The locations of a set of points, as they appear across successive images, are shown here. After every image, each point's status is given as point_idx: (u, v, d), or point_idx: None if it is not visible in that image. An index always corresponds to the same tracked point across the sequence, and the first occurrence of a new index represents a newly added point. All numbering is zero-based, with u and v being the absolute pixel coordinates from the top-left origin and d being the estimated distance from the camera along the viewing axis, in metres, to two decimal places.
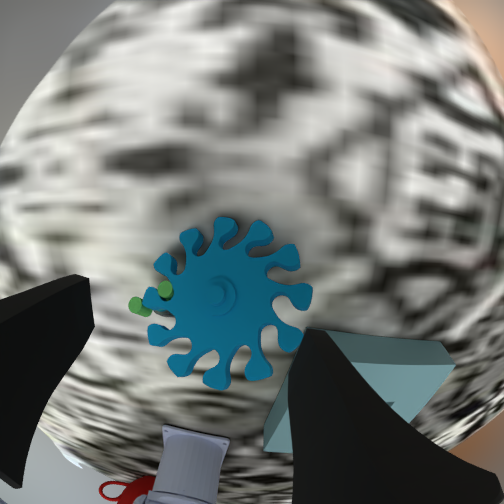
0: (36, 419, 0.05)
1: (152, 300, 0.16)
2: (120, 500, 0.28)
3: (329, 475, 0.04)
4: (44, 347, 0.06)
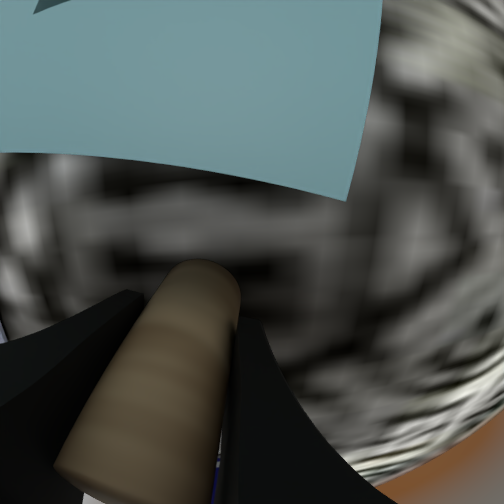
0: None
1: None
2: None
3: (225, 470, 0.04)
4: None
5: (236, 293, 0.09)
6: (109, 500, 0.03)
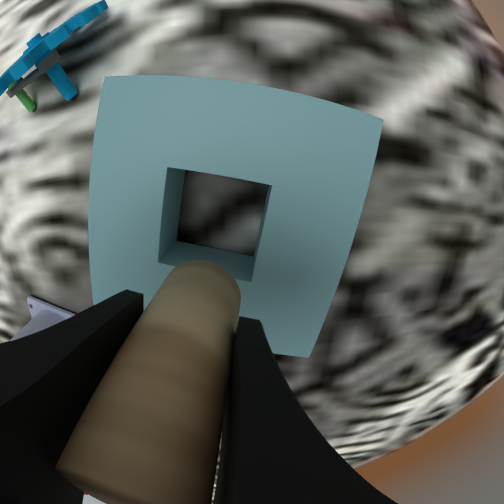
0: None
1: (4, 72, 0.09)
2: None
3: (225, 470, 0.04)
4: (103, 373, 0.06)
5: (236, 293, 0.09)
6: (111, 501, 0.03)
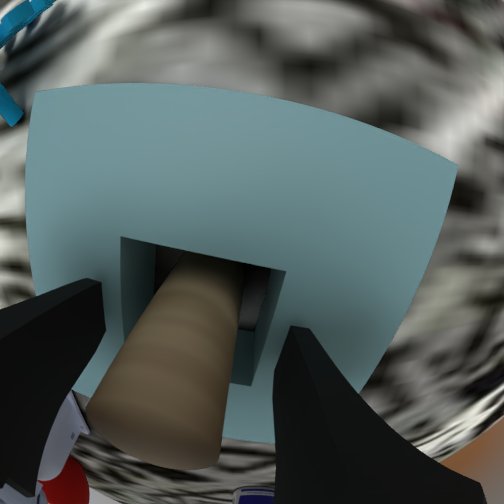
0: (49, 427, 0.05)
1: None
2: None
3: (305, 476, 0.04)
4: (57, 353, 0.06)
5: (240, 272, 0.11)
6: (132, 443, 0.05)
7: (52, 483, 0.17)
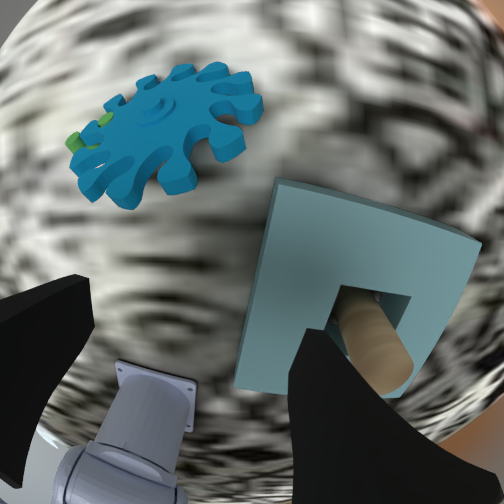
0: (36, 419, 0.05)
1: (89, 129, 0.12)
2: None
3: (329, 475, 0.04)
4: (44, 347, 0.06)
5: None
6: (375, 383, 0.12)
7: None
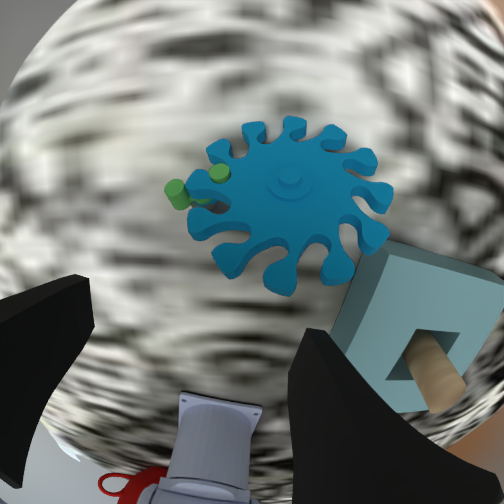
0: (36, 419, 0.05)
1: (200, 182, 0.13)
2: (122, 495, 0.24)
3: (329, 475, 0.04)
4: (44, 347, 0.06)
5: None
6: (440, 403, 0.13)
7: None
